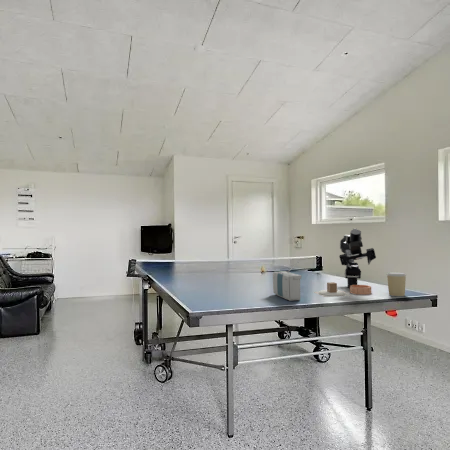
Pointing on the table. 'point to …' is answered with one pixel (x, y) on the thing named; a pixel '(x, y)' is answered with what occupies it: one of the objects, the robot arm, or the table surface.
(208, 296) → the table surface
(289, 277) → the white blue box
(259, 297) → the table surface
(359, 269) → the robot arm
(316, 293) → the mat
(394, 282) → the coffee cup
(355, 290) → the bowl
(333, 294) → the lid
